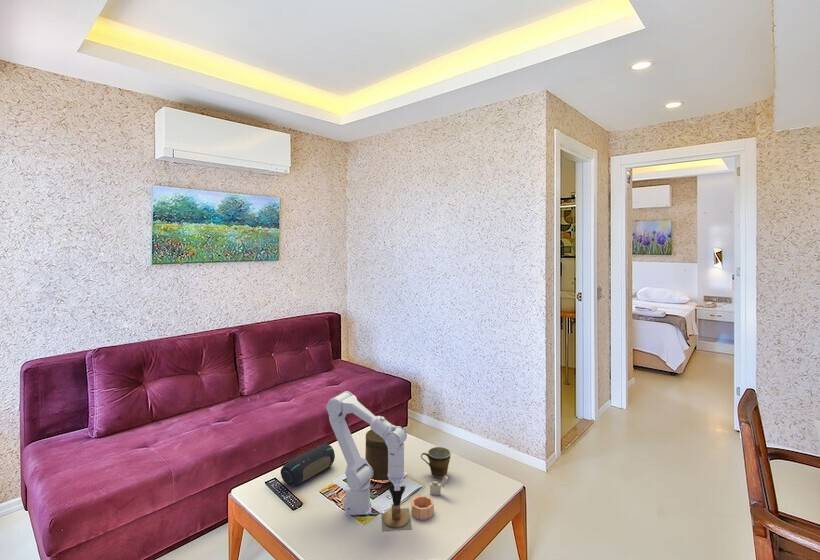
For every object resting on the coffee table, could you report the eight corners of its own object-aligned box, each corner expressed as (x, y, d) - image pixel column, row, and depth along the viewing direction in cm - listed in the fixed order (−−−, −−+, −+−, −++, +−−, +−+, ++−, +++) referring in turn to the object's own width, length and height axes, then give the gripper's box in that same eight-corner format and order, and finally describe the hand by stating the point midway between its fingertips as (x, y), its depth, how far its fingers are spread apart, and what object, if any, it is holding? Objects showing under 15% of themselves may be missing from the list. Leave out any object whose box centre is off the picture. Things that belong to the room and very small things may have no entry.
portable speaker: (293, 492, 169) (293, 469, 168) (278, 484, 175) (277, 461, 174) (339, 466, 189) (338, 445, 188) (324, 459, 195) (323, 439, 194)
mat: (382, 532, 146) (382, 531, 146) (381, 510, 158) (381, 509, 158) (411, 530, 147) (411, 529, 147) (408, 509, 159) (408, 508, 159)
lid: (383, 528, 147) (383, 515, 147) (382, 511, 157) (382, 499, 156) (410, 527, 148) (410, 514, 148) (408, 510, 157) (408, 497, 157)
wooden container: (388, 462, 193) (388, 415, 191) (406, 477, 181) (406, 427, 179) (359, 471, 185) (359, 423, 183) (375, 488, 172) (375, 436, 171)
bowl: (412, 521, 152) (412, 509, 151) (410, 507, 160) (410, 496, 159) (434, 520, 153) (434, 508, 152) (431, 506, 161) (431, 495, 160)
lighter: (429, 495, 168) (430, 476, 167) (430, 492, 169) (430, 473, 169) (447, 496, 166) (447, 477, 166) (447, 494, 168) (448, 475, 167)
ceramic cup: (450, 469, 187) (450, 447, 186) (450, 481, 177) (450, 458, 176) (421, 467, 188) (421, 446, 188) (419, 479, 178) (420, 457, 178)
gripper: (409, 472, 144) (408, 510, 145) (405, 451, 158) (405, 486, 159) (388, 473, 143) (388, 511, 144) (386, 452, 157) (386, 487, 159)
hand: (396, 498), depth 152 cm, fingers open, 7 cm apart
